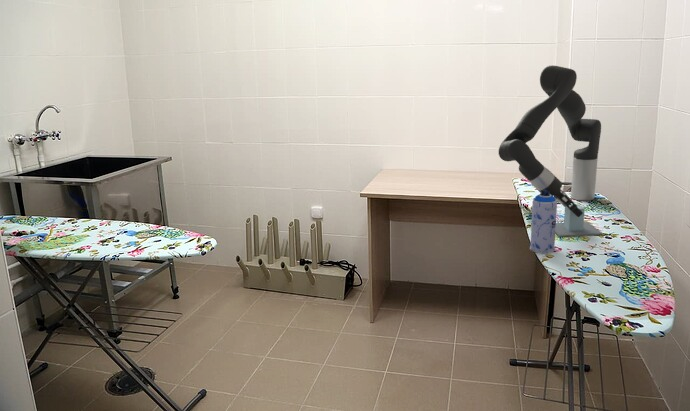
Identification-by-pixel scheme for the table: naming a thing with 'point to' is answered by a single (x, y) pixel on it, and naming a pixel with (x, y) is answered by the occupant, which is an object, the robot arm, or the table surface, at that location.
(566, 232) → the mat
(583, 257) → the table surface
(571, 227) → the block
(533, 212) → the aerosol can
